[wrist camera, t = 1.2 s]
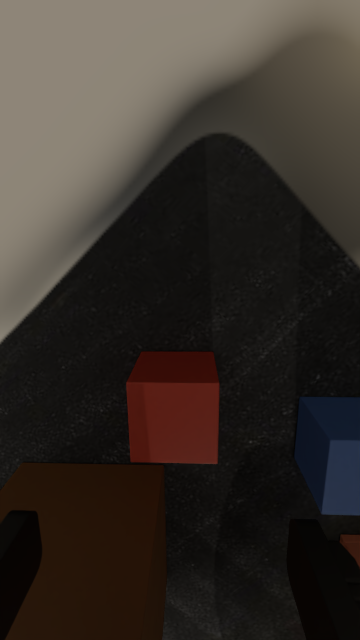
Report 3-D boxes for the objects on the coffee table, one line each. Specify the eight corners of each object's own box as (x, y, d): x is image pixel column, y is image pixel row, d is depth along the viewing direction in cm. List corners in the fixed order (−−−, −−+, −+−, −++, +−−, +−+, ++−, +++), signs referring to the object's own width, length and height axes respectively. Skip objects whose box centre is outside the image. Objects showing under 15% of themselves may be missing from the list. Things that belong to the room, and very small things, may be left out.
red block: (141, 351, 19) (125, 382, 15) (213, 351, 19) (219, 383, 15) (144, 415, 20) (130, 462, 16) (212, 416, 20) (217, 464, 16)
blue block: (299, 396, 19) (330, 439, 15) (371, 397, 19) (424, 441, 15) (293, 457, 20) (321, 514, 16) (362, 458, 20) (409, 517, 16)
